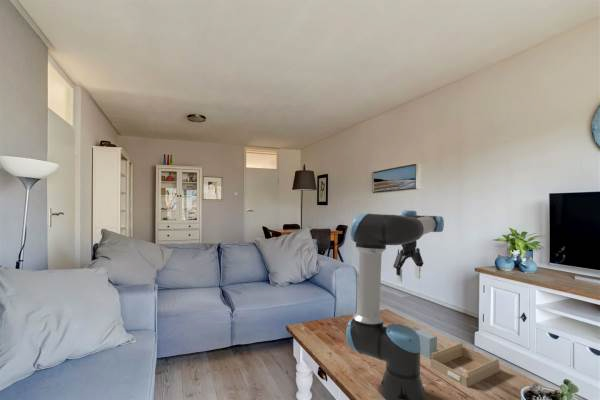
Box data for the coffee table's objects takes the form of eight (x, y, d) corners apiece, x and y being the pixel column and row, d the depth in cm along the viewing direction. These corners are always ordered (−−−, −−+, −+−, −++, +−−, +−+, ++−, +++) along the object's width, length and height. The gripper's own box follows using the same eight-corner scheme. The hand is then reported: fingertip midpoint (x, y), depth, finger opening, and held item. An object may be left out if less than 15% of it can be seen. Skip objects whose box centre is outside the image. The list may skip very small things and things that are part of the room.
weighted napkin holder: (429, 359, 134) (429, 338, 134) (407, 347, 145) (408, 328, 145) (436, 356, 137) (436, 336, 137) (415, 345, 147) (415, 326, 147)
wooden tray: (466, 388, 113) (466, 372, 113) (430, 368, 127) (430, 354, 127) (499, 372, 124) (499, 358, 124) (462, 355, 138) (462, 342, 138)
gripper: (397, 241, 150) (397, 284, 150) (430, 239, 162) (430, 278, 162) (386, 240, 156) (386, 281, 156) (419, 237, 169) (418, 275, 169)
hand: (408, 279), depth 159 cm, fingers open, 13 cm apart
